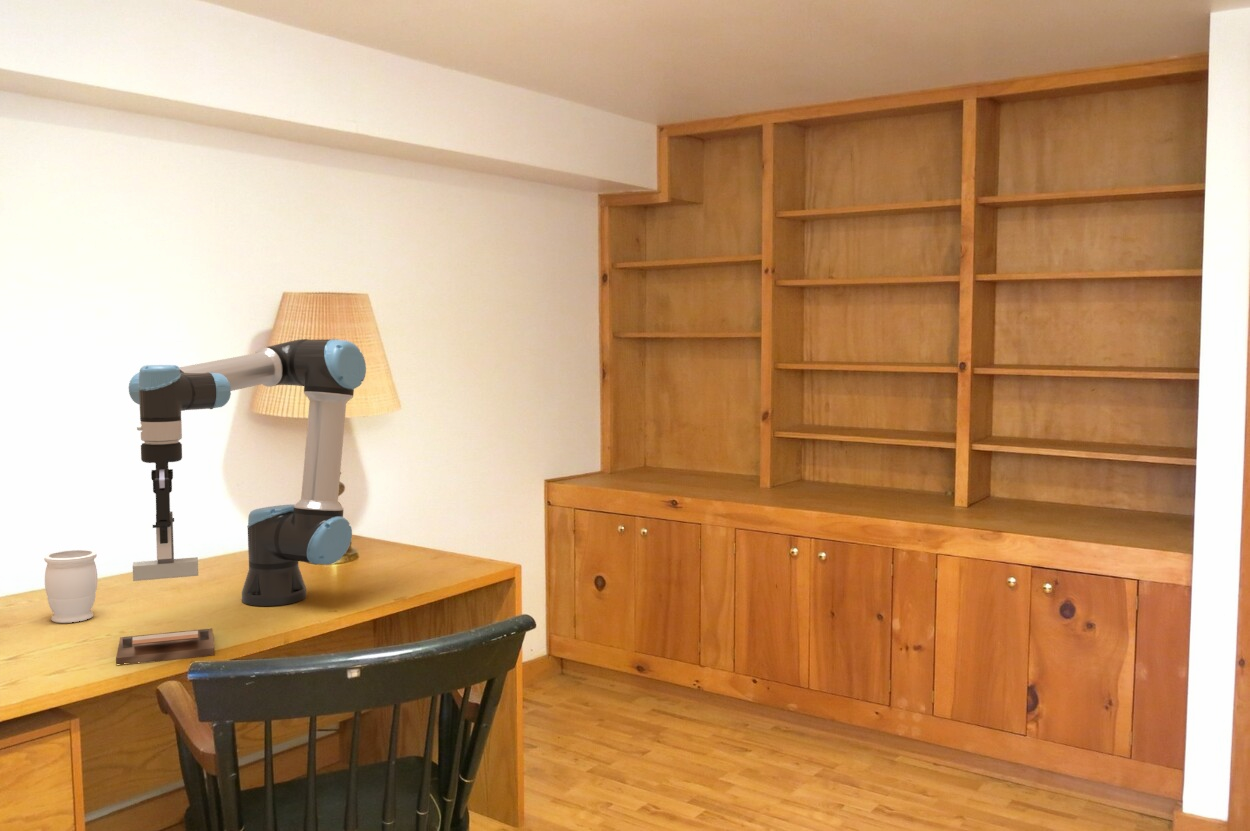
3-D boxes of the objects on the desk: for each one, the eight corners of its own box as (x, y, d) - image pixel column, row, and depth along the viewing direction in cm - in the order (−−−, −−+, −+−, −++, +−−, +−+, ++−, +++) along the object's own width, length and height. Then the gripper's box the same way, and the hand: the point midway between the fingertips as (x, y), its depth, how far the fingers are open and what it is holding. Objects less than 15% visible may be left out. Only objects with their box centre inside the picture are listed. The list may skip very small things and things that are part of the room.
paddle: (198, 571, 211) (196, 509, 210) (198, 575, 207) (196, 512, 206) (133, 576, 206) (131, 513, 205) (133, 581, 202) (130, 516, 201)
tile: (197, 630, 207) (198, 637, 206) (197, 631, 213) (197, 638, 213) (132, 636, 202) (132, 644, 202) (134, 637, 208) (134, 644, 208)
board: (212, 635, 221) (212, 620, 221) (214, 655, 208) (214, 639, 207) (120, 644, 214) (119, 628, 214) (116, 665, 200) (115, 649, 200)
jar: (106, 612, 238) (105, 549, 237) (84, 625, 228) (82, 559, 226) (60, 612, 238) (58, 549, 236) (36, 625, 227) (34, 559, 226)
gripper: (142, 438, 210) (145, 550, 212) (139, 446, 195) (142, 566, 197) (181, 437, 213) (184, 547, 215) (181, 445, 198) (184, 563, 200)
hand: (164, 556), depth 206 cm, fingers closed on paddle, 3 cm apart
